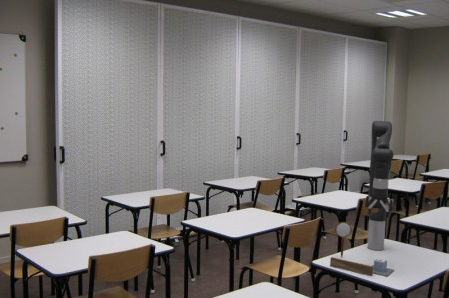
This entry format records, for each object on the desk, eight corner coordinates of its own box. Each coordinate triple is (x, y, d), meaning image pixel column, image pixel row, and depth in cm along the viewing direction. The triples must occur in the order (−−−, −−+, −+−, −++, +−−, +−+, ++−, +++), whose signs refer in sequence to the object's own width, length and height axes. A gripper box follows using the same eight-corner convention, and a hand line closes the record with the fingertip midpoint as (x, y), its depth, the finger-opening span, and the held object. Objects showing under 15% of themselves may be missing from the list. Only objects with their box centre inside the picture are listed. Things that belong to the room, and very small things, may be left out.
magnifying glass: (334, 257, 271) (336, 222, 269) (333, 256, 273) (335, 221, 270) (349, 257, 271) (351, 222, 269) (349, 256, 273) (351, 221, 271)
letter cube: (376, 267, 255) (377, 257, 254) (386, 269, 252) (387, 259, 251) (373, 270, 251) (374, 260, 250) (383, 272, 248) (384, 262, 247)
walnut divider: (331, 265, 258) (331, 257, 258) (372, 275, 245) (373, 266, 245) (330, 266, 257) (330, 257, 256) (371, 276, 244) (371, 267, 244)
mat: (373, 265, 259) (373, 264, 259) (394, 270, 253) (394, 269, 253) (365, 271, 250) (365, 270, 250) (387, 276, 244) (387, 275, 244)
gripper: (396, 187, 254) (394, 217, 256) (369, 183, 262) (367, 213, 264) (392, 189, 248) (390, 221, 250) (364, 186, 256) (362, 216, 258)
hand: (378, 216), depth 257 cm, fingers open, 8 cm apart
